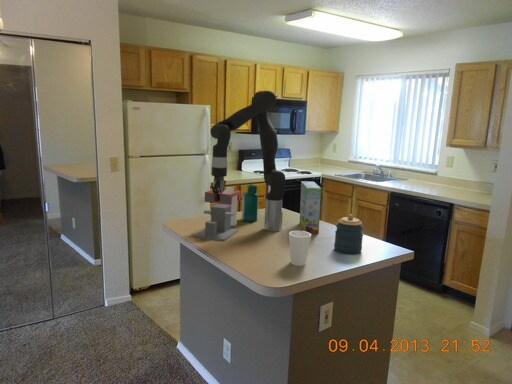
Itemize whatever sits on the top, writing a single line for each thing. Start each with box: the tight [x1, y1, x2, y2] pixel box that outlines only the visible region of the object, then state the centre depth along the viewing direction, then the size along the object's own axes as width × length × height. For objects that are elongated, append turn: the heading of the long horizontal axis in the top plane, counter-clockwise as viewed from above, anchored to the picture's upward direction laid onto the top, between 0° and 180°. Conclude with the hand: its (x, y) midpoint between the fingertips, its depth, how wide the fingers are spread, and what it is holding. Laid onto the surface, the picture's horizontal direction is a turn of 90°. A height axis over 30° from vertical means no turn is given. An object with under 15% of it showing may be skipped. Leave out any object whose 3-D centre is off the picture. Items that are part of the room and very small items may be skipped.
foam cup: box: [288, 230, 312, 267], centre depth 162 cm, size 10×9×13 cm
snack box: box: [299, 180, 322, 235], centre depth 215 cm, size 22×9×26 cm, turn 2°
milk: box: [222, 186, 238, 227], centre depth 216 cm, size 6×6×22 cm
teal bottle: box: [241, 183, 259, 223], centre depth 228 cm, size 10×8×22 cm
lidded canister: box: [333, 214, 365, 255], centre depth 181 cm, size 13×13×18 cm
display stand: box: [193, 203, 240, 242], centre depth 198 cm, size 19×17×14 cm
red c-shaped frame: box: [204, 189, 241, 205], centre depth 193 cm, size 14×14×5 cm
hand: (218, 200), depth 188 cm, fingers closed on red c-shaped frame, 1 cm apart
